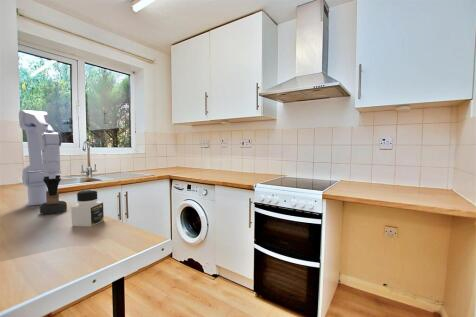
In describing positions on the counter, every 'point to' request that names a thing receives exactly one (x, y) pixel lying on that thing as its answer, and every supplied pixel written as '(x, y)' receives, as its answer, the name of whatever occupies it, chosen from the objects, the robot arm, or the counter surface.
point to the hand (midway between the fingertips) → (52, 193)
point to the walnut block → (52, 198)
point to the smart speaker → (53, 208)
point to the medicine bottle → (87, 209)
